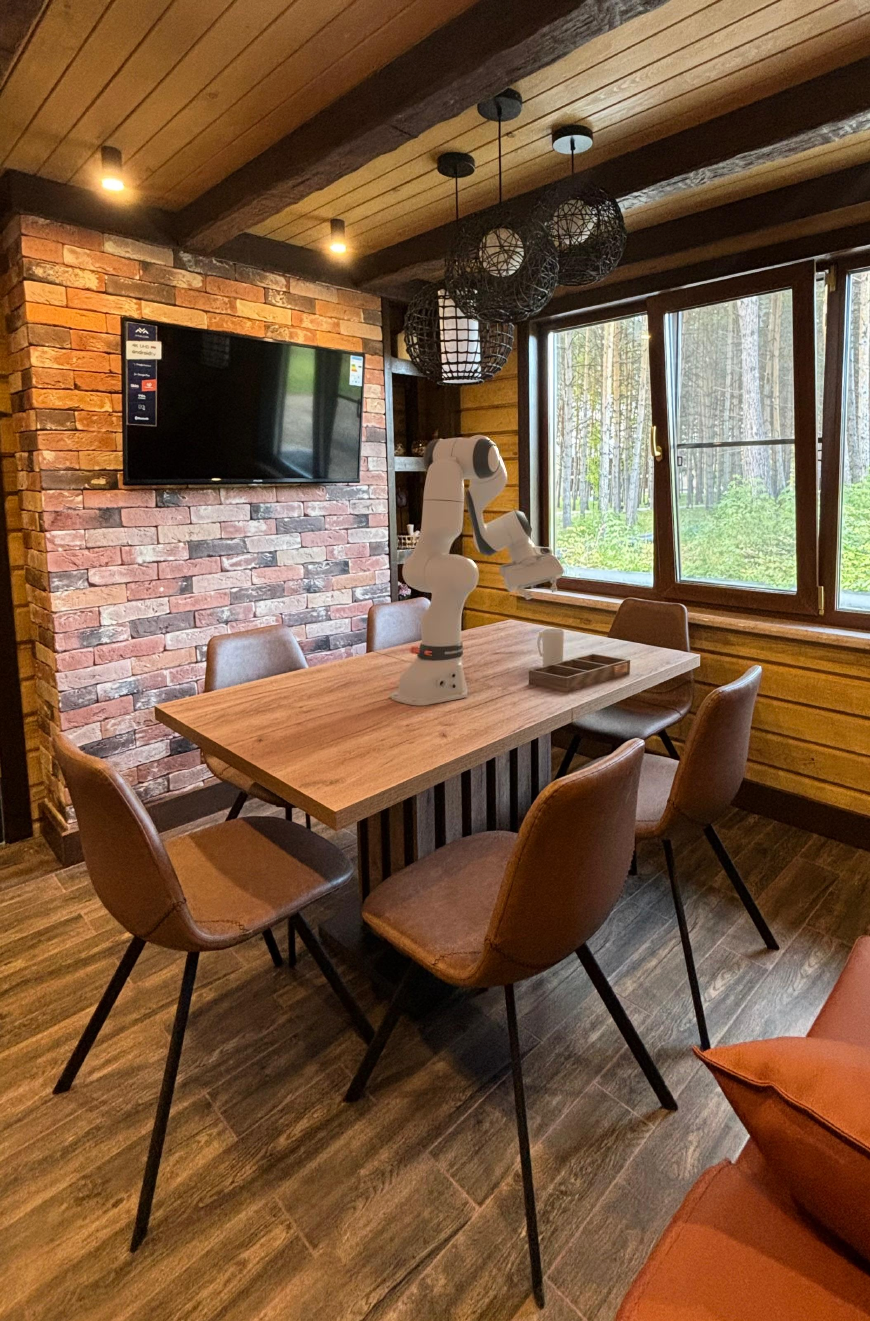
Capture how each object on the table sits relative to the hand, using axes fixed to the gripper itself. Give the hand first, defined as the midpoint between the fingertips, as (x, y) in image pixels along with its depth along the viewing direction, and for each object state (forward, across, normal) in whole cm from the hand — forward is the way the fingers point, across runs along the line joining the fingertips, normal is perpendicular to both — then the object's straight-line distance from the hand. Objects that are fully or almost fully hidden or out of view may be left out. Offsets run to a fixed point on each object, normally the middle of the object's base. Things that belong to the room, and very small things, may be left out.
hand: (542, 594), depth 240 cm
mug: (+22, -5, +6) cm, 24 cm away
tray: (+32, -4, -8) cm, 34 cm away
